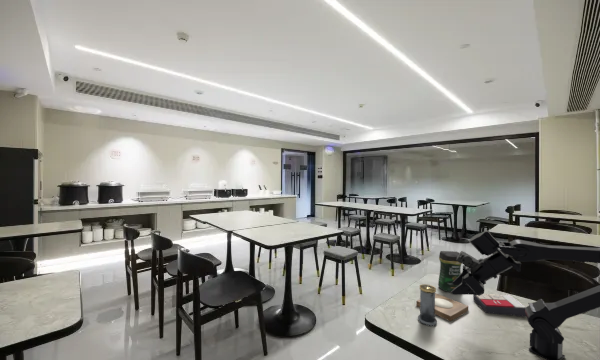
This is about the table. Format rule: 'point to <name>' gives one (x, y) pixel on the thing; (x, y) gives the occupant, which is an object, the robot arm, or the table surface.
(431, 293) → the housing
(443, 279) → the coffee jar
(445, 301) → the stand
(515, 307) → the red and white box
